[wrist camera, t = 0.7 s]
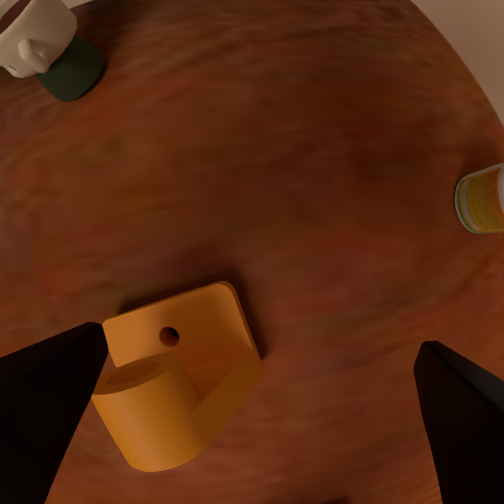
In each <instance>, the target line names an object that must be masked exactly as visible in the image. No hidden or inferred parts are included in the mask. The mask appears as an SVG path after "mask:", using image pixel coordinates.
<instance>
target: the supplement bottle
mask: <svg viewBox="0 0 504 504" xmlns="http://www.w3.org/2000/svg"><path fill="white" fill-rule="evenodd" d="M455 208H456V212H457V215H458V217H459V219H460V221H461V223H462V224H463V225H464V226H465V227H466V228H467V229H468V230H469V231H471V232H473V233H477V234H484V233H499V232H504V162H503V163H500V164H497V165H494V166H491V167H488V168H485V169H482V170H479V171H477V172H474V173H471V174H469V175H466V176H465V177H463V178H462V179H461V180H460V182H459V183H458V185H457V188H456V191H455Z"/></svg>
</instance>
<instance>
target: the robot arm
mask: <svg viewBox="0 0 504 504" xmlns="http://www.w3.org/2000/svg"><path fill="white" fill-rule="evenodd" d="M108 350H109V349H108V343H107V340H106V336H105V332H104V329H103V326H102V325H101V324H99V323H94V322H87V323H84V324H82V325H80V326H77V327H75V328H72V329H70V330H67V331H65V332H62V333H60V334H58V335H55V336H53V337H50V338H48V339H45V340H43V341H40V342H38V343H36V344H33V345H31V346H28V347H26V348H23V349H21V350H18V351H16V352H13V353H11V354H9V355H6V356H4V357H1V358H0V504H45V501H46V499H47V496H48V493H49V491H50V488H51V486H52V483H53V481H54V479H55V476H56V474H57V471H58V469H59V467H60V464H61V462H62V459H63V457H64V455H65V453H66V450H67V448H68V446H69V444H70V441H71V439H72V437H73V435H74V433H75V430H76V428H77V426H78V424H79V422H80V420H81V418H82V416H83V413H84V411H85V409H86V407H87V405H88V403H89V401H90V399H91V397H92V395H93V392H94V390H95V387H96V384H97V382H98V379H99V376H100V374H101V371H102V368H103V366H104V363H105V361H106V358H107V355H108ZM414 376H415V381H416V386H417V391H418V396H419V402H420V407H421V413H422V417H423V421H424V425H425V428H426V432H427V436H428V439H429V443H430V447H431V451H432V455H433V459H434V464H435V468H436V472H437V477H438V482H439V487H440V492H441V497H442V502H443V504H504V381H503V380H501V379H500V378H498V377H496V376H495V375H493V374H491V373H490V372H488V371H486V370H485V369H483V368H481V367H480V366H478V365H477V364H475V363H473V362H472V361H470V360H468V359H467V358H465V357H463V356H462V355H460V354H458V353H457V352H455V351H453V350H452V349H450V348H448V347H447V346H445V345H443V344H442V343H440V342H438V341H425V342H423V343H422V345H421V347H420V350H419V353H418V356H417V358H416V361H415V364H414Z"/></svg>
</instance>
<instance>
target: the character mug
mask: <svg viewBox="0 0 504 504" xmlns="http://www.w3.org/2000/svg"><path fill="white" fill-rule="evenodd" d="M76 29H77V19H76V17H75V16H74V14H73V13H72V12H71V11H70V10H69V9H68V7H67V6H66V5H65V4H64V3H63V2H62V1H61V0H2V1H1V2H0V64H1V65H2V66H3V67H5V68H6V69H7V70H8V71H9V72H10V73H11V74H12V75H13V76H15V77H19V78H25V77H29V76H32V75H35V77H36V78H37V79H38V80H39V81H40V82H41V83H42V84H43V86H44V87H45V88H46V89H47V90H48V91H49V92H50V93H51V94H53V95H54V96H55V97H56V98H57V99H59V100H61V101H63V102H66V101H72V100H75V99H76V98H78V97H79V96H80V95H82V94H83V93H84V92H85V91H86V90H87V89H88V88H89V87H90V86H91V85H92V84H93V83H94V82H95V81H96V79H97V78H98V76H99V74H100V73H101V71H102V70H103V65H104V57H103V55H102V54H101V52H100V51H99V50H98V49H97V48H96V47H94V46H93V45H92V44H91V43H90V42H88V41H87V40H85V39H84V38H83V37H81V36H80V35H78V34H77V33H76Z"/></svg>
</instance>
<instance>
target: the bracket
mask: <svg viewBox="0 0 504 504" xmlns="http://www.w3.org/2000/svg"><path fill="white" fill-rule="evenodd" d="M102 326H103V329H104V332H105V336H106V340H107V343H108V349H109V352H110V354H111V357H112V359H113V361H114V364H115V366H116V368H115V369H113V370H111V371H109V372H107V373H105V374H104V375H102V376H100V377H99V379H98V382H97V384H96V387H95V390H94V392H93V395H92V397H91V399H92V401H93V403H94V405H95V407H96V409H97V410H98V412H99V414H100V416H101V418H102V420H103V422H104V423H105V425H106V427H107V429H108V430H109V432H110V434H111V436H112V437H113V439H114V441H115V442H116V444H117V446H118V447H119V449H120V451H121V452H122V454H123V455H124V457H125V458H126V460H127V462H128V463H129V464H130V465H131V466H132V467H133V468H135V469H137V470H141V471H147V472H155V471H163V470H167V469H171V468H174V467H177V466H180V465H182V464H184V463H186V462H188V461H190V460H191V459H193V458H195V457H196V456H197V455H199V454H200V453H201V452H202V451H203V450H204V449H205V448H206V447H207V446H208V445H209V444H210V442H211V441H212V440H213V439H214V438H215V436H216V435H217V434H218V433H219V432H220V430H221V429H222V428H223V427H224V425H225V424H226V423H227V422H228V420H229V419H230V418H231V417H232V415H233V414H234V413H235V412H236V410H237V409H238V408H239V407H240V405H241V404H242V403H243V401H244V400H245V399H246V398H247V396H248V395H249V394H250V392H251V391H252V390H253V388H254V387H255V386H256V385H257V383H258V382H259V381H260V379H261V378H262V377H263V364H262V362H261V359H260V356H259V354H258V351H257V348H256V345H255V343H254V340H253V337H252V335H251V332H250V329H249V326H248V324H247V321H246V318H245V315H244V313H243V310H242V307H241V304H240V302H239V299H238V296H237V293H236V290H235V288H234V287H233V286H232V285H231V284H230V283H228V282H225V281H219V282H215V283H212V284H210V285H207V286H204V287H201V288H200V287H199V288H196V289H193V290H190V291H187V292H184V293H181V294H178V295H175V296H172V297H169V298H166V299H163V300H160V301H157V302H153V303H150V304H147V305H144V306H141V307H138V308H136V309H134V310H131V311H128V312H125V313H121V314H118V315H116V316H114V317H112V318H110V319H108V320H106V321H105V322H104V323H103V325H102ZM170 327H172V328H174V329H175V330H176V331H177V332H178V334H179V337H176V336H175V335H173V334H172V332H171V331H170Z"/></svg>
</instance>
